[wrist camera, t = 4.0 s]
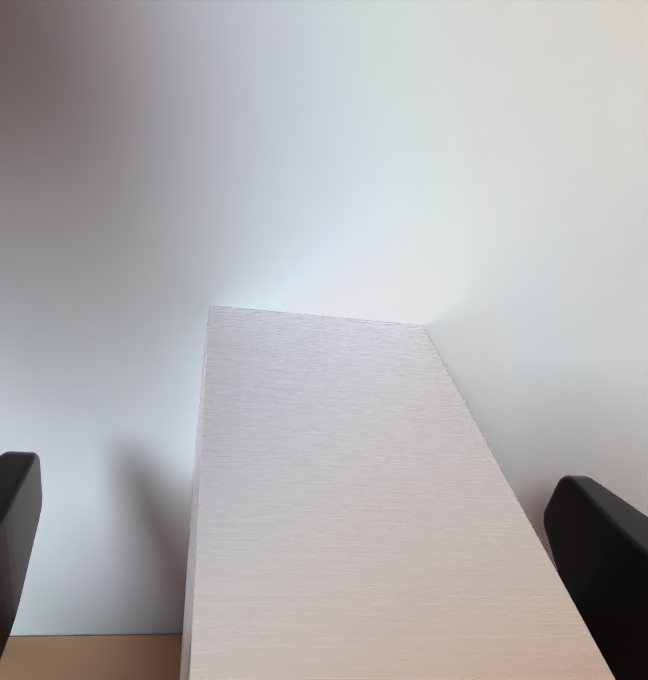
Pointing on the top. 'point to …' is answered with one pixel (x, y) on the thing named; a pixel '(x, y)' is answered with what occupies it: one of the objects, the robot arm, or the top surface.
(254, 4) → the top surface
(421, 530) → the steel square peg
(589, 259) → the top surface
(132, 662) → the square wooden frame
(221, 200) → the top surface
